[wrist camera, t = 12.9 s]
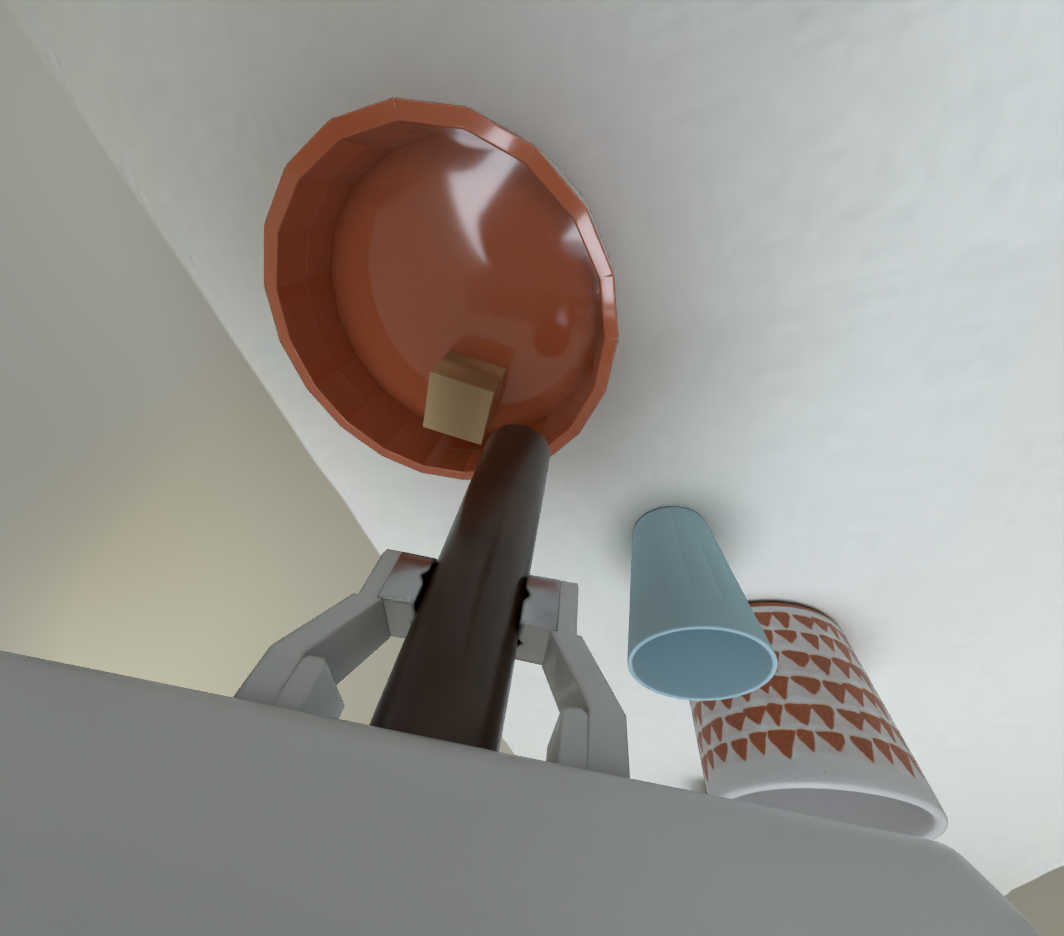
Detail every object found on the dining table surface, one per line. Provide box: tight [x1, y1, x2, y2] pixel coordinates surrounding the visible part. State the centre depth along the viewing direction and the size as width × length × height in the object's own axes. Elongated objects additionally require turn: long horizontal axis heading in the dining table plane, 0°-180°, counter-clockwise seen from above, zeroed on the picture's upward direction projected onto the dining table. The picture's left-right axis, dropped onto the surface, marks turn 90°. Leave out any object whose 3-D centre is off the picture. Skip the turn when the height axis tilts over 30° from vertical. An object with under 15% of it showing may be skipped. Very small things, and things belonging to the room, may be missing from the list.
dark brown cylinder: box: [369, 424, 550, 752], centre depth 12 cm, size 3×3×13 cm
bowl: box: [264, 97, 618, 480], centre depth 20 cm, size 16×16×5 cm
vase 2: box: [690, 602, 948, 840], centre depth 31 cm, size 14×14×13 cm
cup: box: [628, 507, 778, 701], centre depth 25 cm, size 8×8×10 cm
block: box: [423, 350, 506, 445], centre depth 22 cm, size 4×4×4 cm
